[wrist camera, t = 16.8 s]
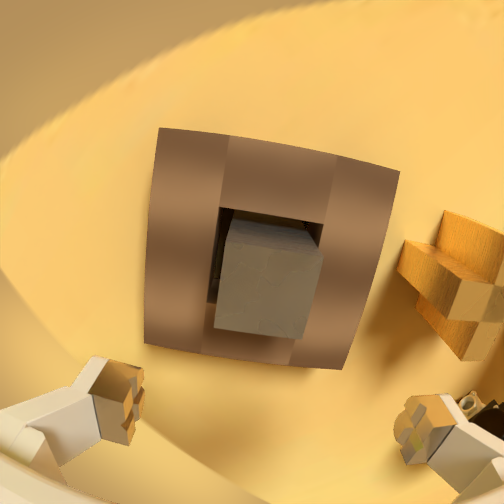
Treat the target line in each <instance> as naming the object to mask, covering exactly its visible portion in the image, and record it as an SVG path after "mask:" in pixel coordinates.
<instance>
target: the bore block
mask: <svg viewBox="0 0 504 504" xmlns="http://www.w3.org/2000/svg"><path fill="white" fill-rule="evenodd" d="M399 174H400V171H397V170H393V169H390V168H386V167H382V166H379V165H375V164H371V163H367V162H363V161H359V160H355V159H351V158H347V157H343V156H338V155H334V154H330V153H325V152H320V151H316V150H311V149H306V148H301V147H296V146H291V145H285V144H280V143H274V142H269V141H263V140H257V139H251V138H244V137H237V136H230V135H223V134H216V133H208V132H199V131H190V130H181V129H170V128H159V132H158V139H157V146H156V153H155V161H154V169H153V178H152V187H151V197H150V207H149V219H148V232H147V247H146V266H145V293H144V343H146V344H151V345H155V346H160V347H165V348H170V349H176V350H181V351H187V352H192V353H198V354H204V355H210V356H217V357H223V358H230V359H237V360H244V361H252V362H260V363H268V364H277V365H287V366H297V367H309V368H321V369H336V370H342V368H343V366H344V363H345V361H346V358H347V355H348V353H349V350H350V347H351V345H352V342H353V339H354V336H355V333H356V331H357V328H358V325H359V322H360V319H361V316H362V313H363V310H364V307H365V304H366V301H367V298H368V295H369V292H370V288H371V285H372V282H373V278H374V275H375V272H376V268H377V265H378V261H379V258H380V254H381V251H382V247H383V243H384V239H385V235H386V232H387V228H388V224H389V219H390V215H391V211H392V207H393V202H394V198H395V193H396V189H397V184H398V179H399ZM223 207H225V208H231V209H238V210H244V211H250V212H256V213H263V214H269V215H275V216H281V217H287V218H292V219H298V220H304V221H309V226H308V233H309V235H310V236H311V238H312V239H313V241H314V242H315V244H316V245H317V247H318V249H319V250H320V252H321V253H322V255H323V257H324V259H323V263H322V267H321V271H320V275H319V279H318V283H317V287H316V290H315V294H314V298H313V302H312V305H311V309H310V313H309V316H308V320H307V324H306V327H305V331H304V334H303V338H302V340H300V339H292V338H283V337H275V336H267V335H260V334H252V333H245V332H239V331H232V330H225V329H219V328H214V321H215V314H216V306H217V299H218V292H219V284H220V279H218V278H214V271H215V263H216V255H217V248H218V241H219V234H220V227H221V220H222V213H223Z"/></svg>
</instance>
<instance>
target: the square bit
mask: <svg viewBox="0 0 504 504" xmlns="http://www.w3.org/2000/svg"><path fill="white" fill-rule="evenodd" d="M323 259H324V257H323V255H322V253H321V252H320V250H319V249H318V247H317V245H316V244H315V242H314V241H313V239H312V238H311V236H310V235H309V233H308V231H307V230H306V228H305V227H304V225H303V224H302V222H301V221H300V220H298V219H292V218H287V217H281V216H275V215H269V214H263V213H256V212H250V211H244V210H238V209H235V211H234V214H233V218H232V221H231V225H230V228H229V232H228V235H227V239H226V243H225V249H224V256H223V263H222V270H221V277H220V284H219V292H218V299H217V306H216V314H215V321H214V328H219V329H225V330H232V331H239V332H245V333H252V334H260V335H267V336H275V337H283V338H292V339H300V340H302V338H303V334H304V331H305V327H306V324H307V320H308V316H309V313H310V309H311V305H312V302H313V298H314V294H315V290H316V287H317V283H318V279H319V275H320V271H321V267H322V263H323Z"/></svg>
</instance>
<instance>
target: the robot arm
mask: <svg viewBox="0 0 504 504" xmlns="http://www.w3.org/2000/svg"><path fill="white" fill-rule="evenodd" d="M143 380H144V370H143V369H142V368H140V367H136V366H133V365H129V364H125V363H122V362H118V361H115V360H111V359H107V358H104V357H100V356H97V355H94V356H92V357H91V358H90V360H89V361H88V362H87V364H86V365H85V367H84V368H83V369H82V371H81V372H80V374H79V375H78V377H77V378H76V379H75V381H74V382H73V383H72V385H71V386H70V387H67V386H64V387H62V388H59V389H56V390H54V391H51V392H49V393H46V394H43V395H41V396H38V397H35V398H33V399H30V400H27V401H25V402H22V403H19V404H17V405H14V406H11V407H9V408H5V409H2V410H0V504H118V503H114V502H111V501H108V500H105V499H102V498H99V497H96V496H93V495H91V494H88V493H85V492H83V491H80V490H77V489H75V488H72V487H70V486H68V485H67V483H66V481H65V479H64V477H63V475H62V473H61V471H60V469H59V467H61V466H62V465H64V464H65V463H67V462H68V461H70V460H72V459H73V458H75V457H76V456H78V455H79V454H81V453H82V452H84V451H85V450H87V449H89V448H90V447H92V446H93V445H95V444H96V443H98V442H99V441H100V440H101V439H105V440H108V441H112V442H115V443H120V444H123V445H127V446H129V445H130V442H131V440H132V437H133V435H134V432H135V421H137V420H139V419H140V417H141V414H142V411H143V406H144V399H145V390H144V389H143V388H142V386H141V385H142V383H143ZM404 406H405V410H404V411H403V412H402V413H400V414H399V415H398V417H397V419H396V420H395V423H394V429H393V431H394V436H395V439H396V441H397V442H398V443H400V444H401V445H402V447H401V450H400V451H401V454H402V456H403V458H404V461H405V463H406V465H412V464H420V463H427V465H429V466H430V467H431V468H432V469H433V470H434V471H435V472H436V473H437V474H438V475H439V476H440V477H442V478H443V479H444V480H445V481H446V482H447V483H448V484H449V485H450V486H451V487H453V488H454V489H455V490H456V491H457V492H458V493H459V495H458V496H457V497H456V498H455V499H454V500H453V501H452V503H451V504H504V441H502V440H501V439H499V438H497V437H496V436H494V435H492V434H491V433H489V432H487V431H486V430H484V429H482V428H481V427H479V426H477V425H476V424H474V423H469V422H468V420H467V419H466V417H465V416H464V414H463V413H462V411H461V410H460V408H459V407H458V405H457V404H456V402H455V401H454V400H453V398H452V397H451V395H449V394H447V393H445V394H435V395H420V396H411V397H409V398H408V399H407V401H406V403H405V404H404Z"/></svg>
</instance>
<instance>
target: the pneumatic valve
mask: <svg viewBox="0 0 504 504" xmlns="http://www.w3.org/2000/svg"><path fill="white" fill-rule="evenodd" d="M456 404H457V405H458V407H459V408H460V410H461V411H462V413H463V414H464V416H465V417H466V419H467V420H468V422H469V423H474V424H476V425H477V426H479V427H481V428H482V429H484V430H486V431H487V432H489V433H491V434H492V435H494V436H496V437H497V438H499V439H501V440H502V441H504V402H502V403H501V404H500V405H498V404H497V402H496V401H495V400H493V401H491V402H490V403H489V404H488V405H487V406H486V404H484V403H481V400H480V399H479V398H478V396H477V393H476V391H471V392H470V393H469V395H467V396H465V397H464V398H462V399H461V400H460V402H459V403H456Z"/></svg>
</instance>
